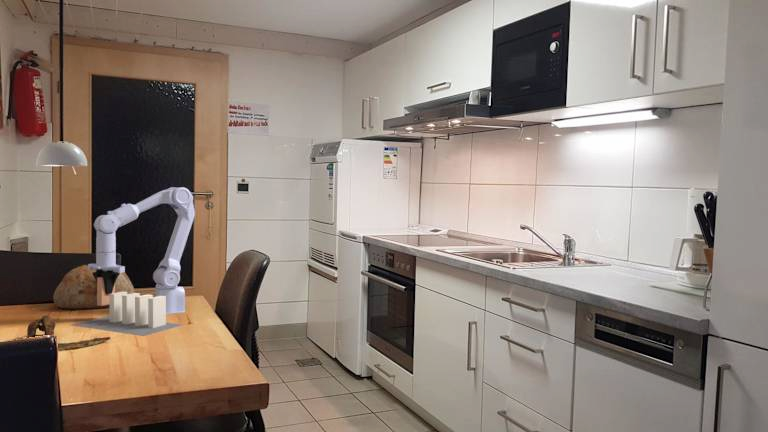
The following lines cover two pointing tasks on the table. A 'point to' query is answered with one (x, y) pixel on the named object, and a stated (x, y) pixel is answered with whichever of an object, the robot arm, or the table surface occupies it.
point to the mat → (123, 326)
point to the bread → (85, 289)
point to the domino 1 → (102, 292)
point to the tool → (48, 329)
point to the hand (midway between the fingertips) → (106, 293)
